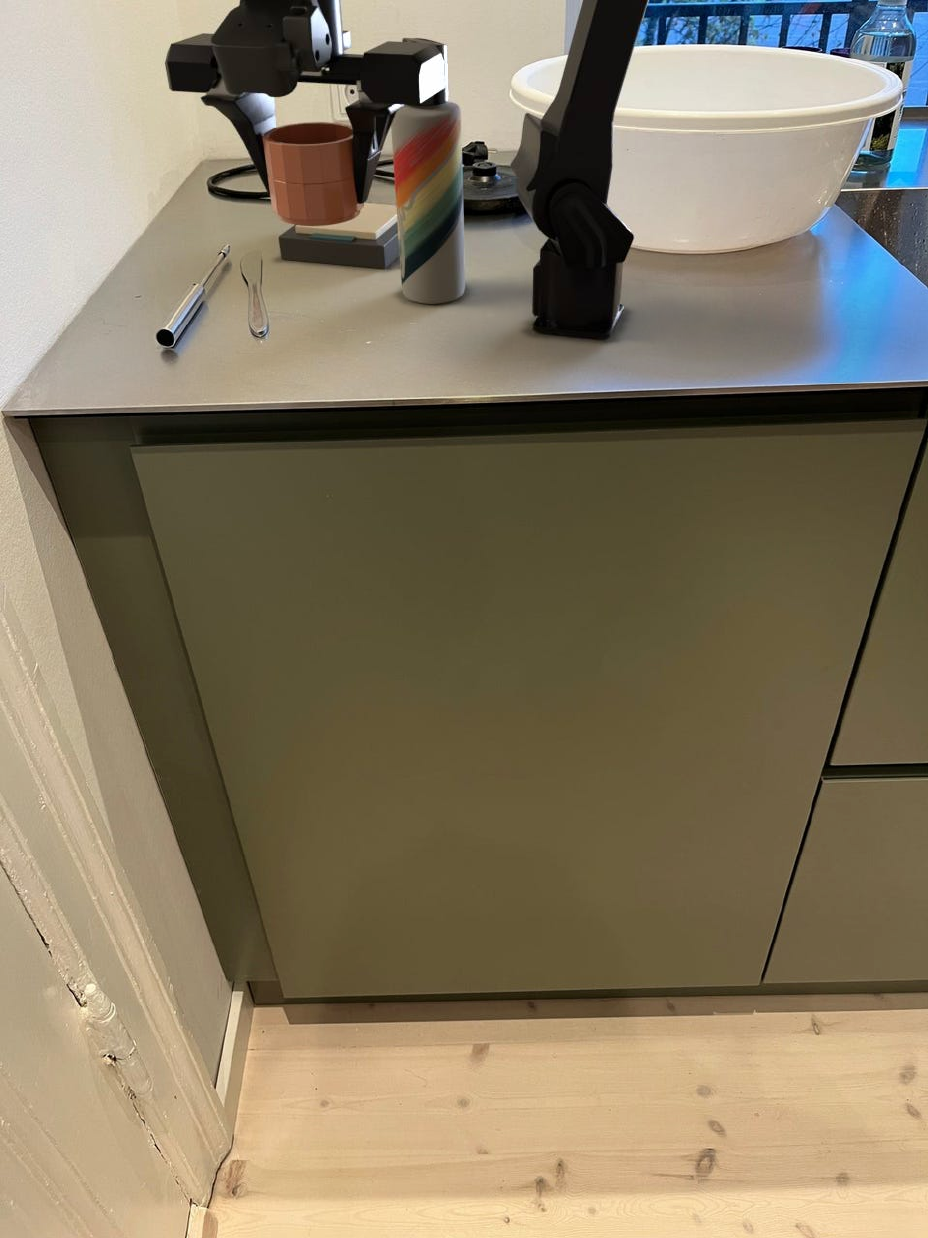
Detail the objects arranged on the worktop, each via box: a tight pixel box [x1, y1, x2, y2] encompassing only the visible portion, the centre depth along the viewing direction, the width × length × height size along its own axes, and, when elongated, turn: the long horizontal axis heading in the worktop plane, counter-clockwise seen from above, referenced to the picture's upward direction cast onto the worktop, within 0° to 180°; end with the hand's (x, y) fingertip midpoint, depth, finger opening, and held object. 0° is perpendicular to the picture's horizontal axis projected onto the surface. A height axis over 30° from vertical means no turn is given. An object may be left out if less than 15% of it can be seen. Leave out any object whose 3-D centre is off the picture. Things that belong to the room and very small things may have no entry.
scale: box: [278, 202, 400, 270], centre depth 97 cm, size 11×11×3 cm
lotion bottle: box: [390, 37, 466, 305], centre depth 81 cm, size 6×6×20 cm
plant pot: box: [263, 121, 365, 226], centre depth 71 cm, size 7×7×6 cm
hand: (317, 198), depth 72 cm, fingers closed on plant pot, 7 cm apart
